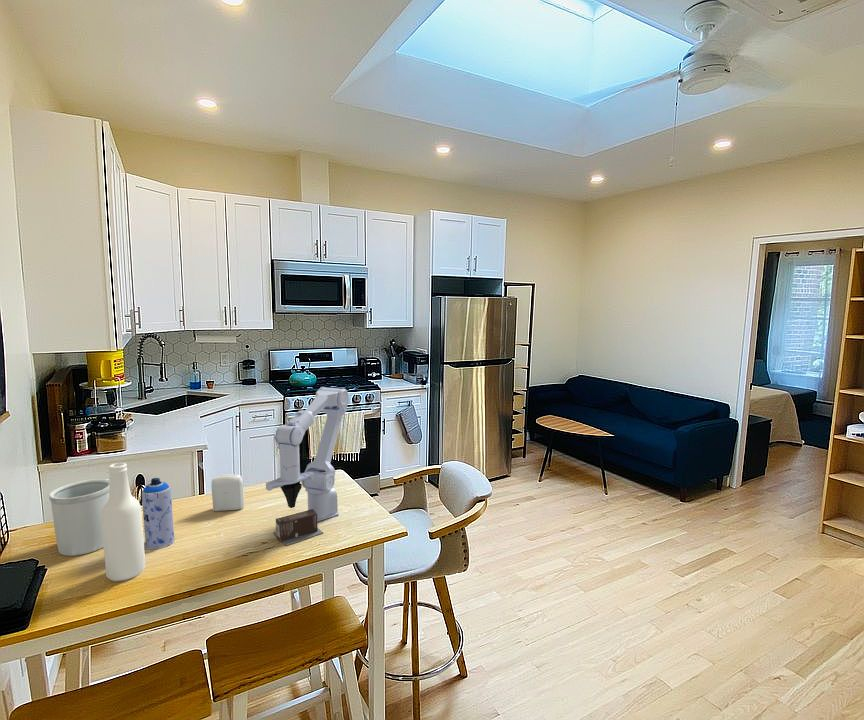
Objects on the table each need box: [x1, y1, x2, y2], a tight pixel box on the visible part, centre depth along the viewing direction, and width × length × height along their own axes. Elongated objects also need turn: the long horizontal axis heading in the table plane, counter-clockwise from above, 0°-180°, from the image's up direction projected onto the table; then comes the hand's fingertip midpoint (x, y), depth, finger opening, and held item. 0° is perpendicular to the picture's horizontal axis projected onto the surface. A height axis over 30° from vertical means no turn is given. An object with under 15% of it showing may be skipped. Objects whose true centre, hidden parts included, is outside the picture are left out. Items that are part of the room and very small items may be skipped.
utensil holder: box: [48, 478, 109, 557], centre depth 138 cm, size 15×15×18 cm
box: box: [275, 509, 319, 542], centre depth 145 cm, size 6×4×12 cm
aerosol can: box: [141, 477, 176, 550], centre depth 139 cm, size 8×8×20 cm
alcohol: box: [101, 462, 146, 582], centre depth 123 cm, size 9×9×30 cm
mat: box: [273, 527, 324, 547], centre depth 146 cm, size 12×10×1 cm
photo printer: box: [211, 473, 245, 512], centre depth 162 cm, size 10×4×12 cm, turn 99°
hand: (291, 506), depth 144 cm, fingers closed
